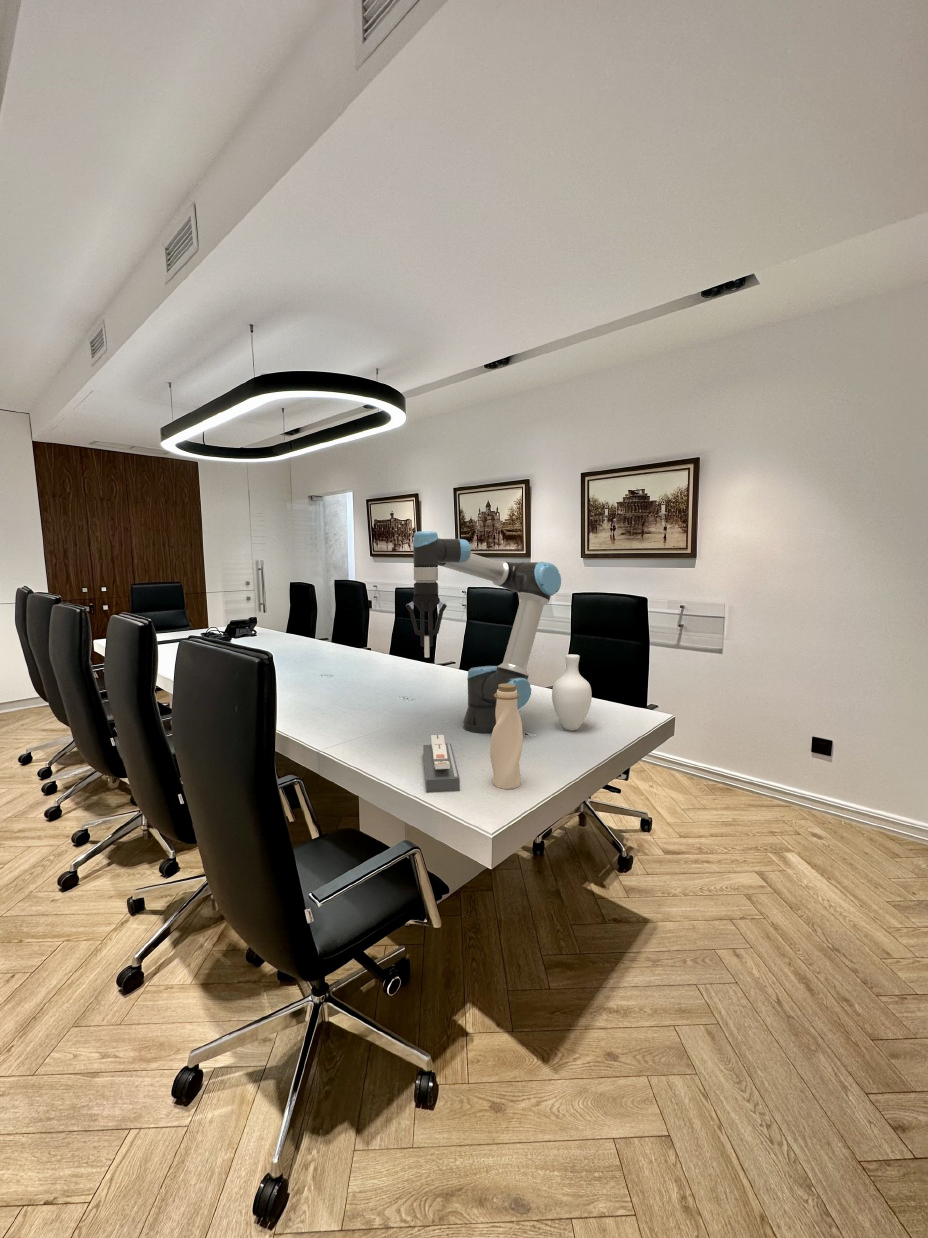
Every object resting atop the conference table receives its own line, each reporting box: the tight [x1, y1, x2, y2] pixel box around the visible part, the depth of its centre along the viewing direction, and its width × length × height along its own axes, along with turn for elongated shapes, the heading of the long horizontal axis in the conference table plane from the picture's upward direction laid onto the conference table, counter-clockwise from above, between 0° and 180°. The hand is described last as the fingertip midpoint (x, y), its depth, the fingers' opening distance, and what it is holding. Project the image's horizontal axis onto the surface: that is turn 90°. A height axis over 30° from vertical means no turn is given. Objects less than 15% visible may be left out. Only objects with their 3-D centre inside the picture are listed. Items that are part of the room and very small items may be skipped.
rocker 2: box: [433, 745, 448, 762], centre depth 155 cm, size 4×7×2 cm, turn 6°
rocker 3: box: [434, 761, 450, 769], centre depth 146 cm, size 4×7×2 cm, turn 6°
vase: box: [551, 653, 593, 732], centre depth 193 cm, size 14×14×28 cm
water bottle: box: [489, 683, 524, 790], centre depth 146 cm, size 10×9×28 cm
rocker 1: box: [430, 734, 446, 752], centre depth 164 cm, size 4×7×2 cm, turn 6°
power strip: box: [422, 743, 461, 793], centre depth 159 cm, size 9×37×4 cm, turn 6°
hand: (426, 656), depth 164 cm, fingers closed
